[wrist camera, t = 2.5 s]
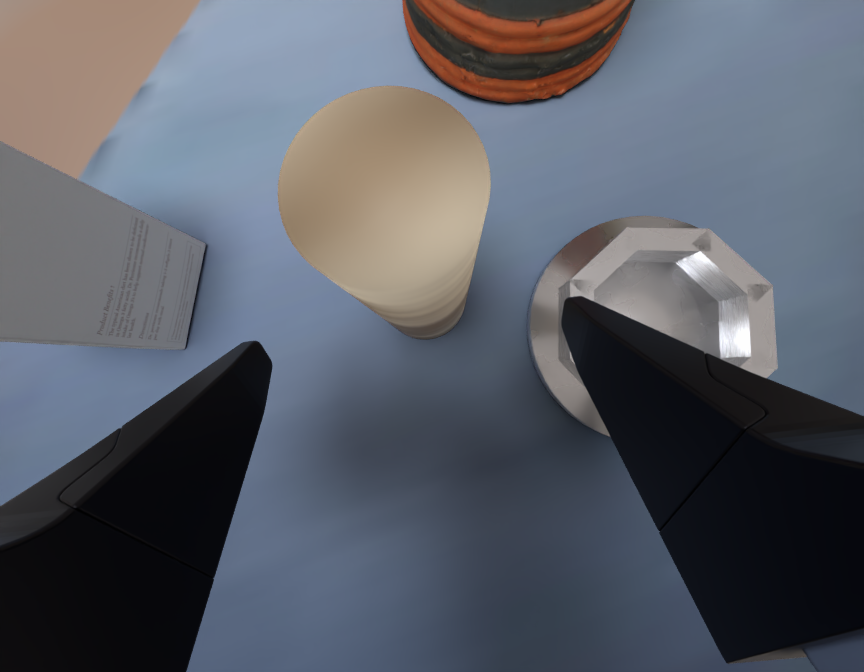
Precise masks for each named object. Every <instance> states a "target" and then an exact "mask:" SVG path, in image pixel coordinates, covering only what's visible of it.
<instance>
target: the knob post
mask: <svg viewBox="0 0 864 672" xmlns="http://www.w3.org/2000/svg"><path fill="white" fill-rule="evenodd" d="M490 187H491V182H490V169H489V163H488V158H487V155H486V152H485V149H484V146H483V144H482V142H481V140H480V138H479V136H478V134H477V133H476V131H475V130H474V128H473V127H472V126H471V124H470V123H469V122H468V121H467V120H466V118H465V117H464V116H463V115H462V114H461V113H460V112H459V111H457V110H456V109H455V108H454V107H452V106H451V105H450V104H448V103H447V102H445V101H443V100H442V99H440V98H438V97H436V96H434V95H432V94H429V93H427V92H424V91H420V90H417V89H413V88H408V87H402V86H379V87H371V88H366V89H361V90H358V91H355V92H352V93H349V94H346V95H344V96H342V97H340V98H338V99H336V100H334V101H332V102H331V103H329V104H328V105H326V106H324V107H323V108H322V109H321V110H319V111H318V112H317V113H315V114H314V115H313V116H312V117H311V118H310V119H309V120H308V121H307V122H306V123H305V124H304V125H303V127H302V128H301V129H300V131H299V132H298V133H297V134H296V136H295V138H294V139H293V141H292V143H291V144H290V146H289V148H288V150H287V153H286V155H285V157H284V160H283V163H282V167H281V170H280V176H279V182H278V202H279V211H280V215H281V219H282V223H283V225H284V228H285V230H286V233H287V235H288V237H289V238H290V240H291V242H292V244H293V245H294V247H295V248H296V249H297V251H298V252H299V253H300V254H301V256H302V257H303V258H304V259H305V260H306V261H307V262H308V263H309V264H310V265H311V266H313V267H314V268H315V269H317V270H318V271H319V272H321V273H322V274H323V275H325V276H326V277H328V278H329V279H330V280H332V281H333V282H334V283H336V284H337V285H338V286H340V287H341V288H342V289H344V290H345V291H346V292H348V293H349V294H351V295H352V296H353V297H355V298H356V299H357V300H359V301H360V302H361V303H363V304H364V305H365V306H367V307H368V308H370V309H371V310H372V311H374V312H375V313H376V314H378V315H379V316H380V317H382V318H383V319H384V320H386V321H387V322H389V323H390V324H391V325H393V326H394V327H395V328H397V329H398V330H399V331H401V332H402V333H404V334H405V335H407V336H410V337H412V338H416V339H434V338H437V337H440V336H442V335H444V334H446V333H447V332H449V331H450V330H451V329H453V328H454V326H455V325H456V324H457V323H458V322H459V320H460V318H461V316H462V314H463V311H464V307H465V303H466V299H467V294H468V290H469V286H470V281H471V277H472V273H473V268H474V264H475V259H476V255H477V251H478V246H479V242H480V238H481V233H482V229H483V224H484V220H485V216H486V211H487V207H488V203H489V197H490Z"/></svg>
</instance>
